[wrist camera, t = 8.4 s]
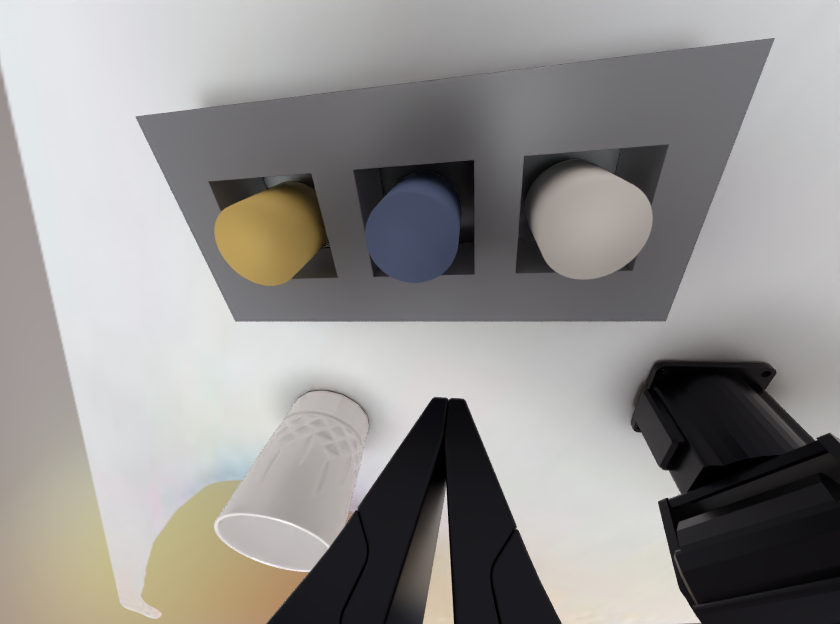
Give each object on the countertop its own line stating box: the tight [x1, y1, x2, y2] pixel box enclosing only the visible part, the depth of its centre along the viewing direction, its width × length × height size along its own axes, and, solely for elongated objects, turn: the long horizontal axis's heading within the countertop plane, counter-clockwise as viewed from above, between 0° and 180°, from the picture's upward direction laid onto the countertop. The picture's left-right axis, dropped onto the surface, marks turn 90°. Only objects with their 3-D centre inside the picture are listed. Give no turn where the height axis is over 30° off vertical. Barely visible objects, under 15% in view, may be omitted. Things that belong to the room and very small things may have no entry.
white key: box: [525, 159, 653, 280], centre depth 13 cm, size 4×4×4 cm
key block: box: [136, 38, 775, 321], centre depth 16 cm, size 22×10×4 cm, turn 95°
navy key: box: [365, 171, 461, 283], centre depth 14 cm, size 4×4×4 cm
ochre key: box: [214, 181, 328, 286], centre depth 15 cm, size 4×4×4 cm
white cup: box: [214, 391, 369, 572], centre depth 24 cm, size 8×8×10 cm
